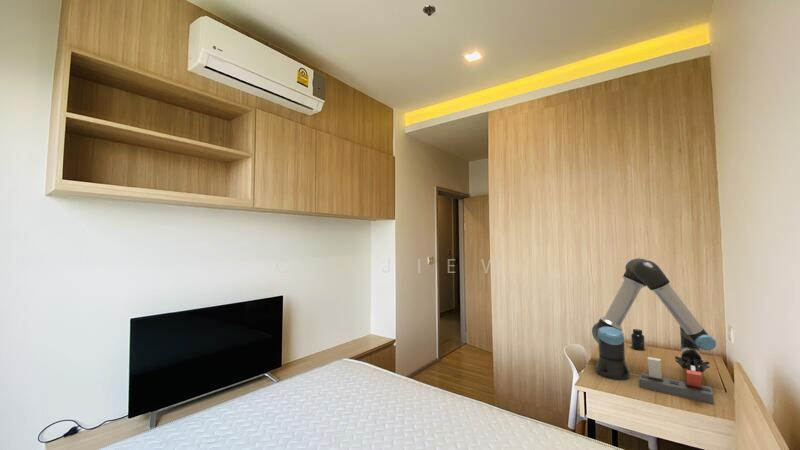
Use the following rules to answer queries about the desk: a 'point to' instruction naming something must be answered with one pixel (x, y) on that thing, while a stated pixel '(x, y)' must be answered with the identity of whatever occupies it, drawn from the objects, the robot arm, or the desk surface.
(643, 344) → the supplement bottle
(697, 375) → the red upright block
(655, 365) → the white rocker
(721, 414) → the desk surface
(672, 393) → the grey slotted base
